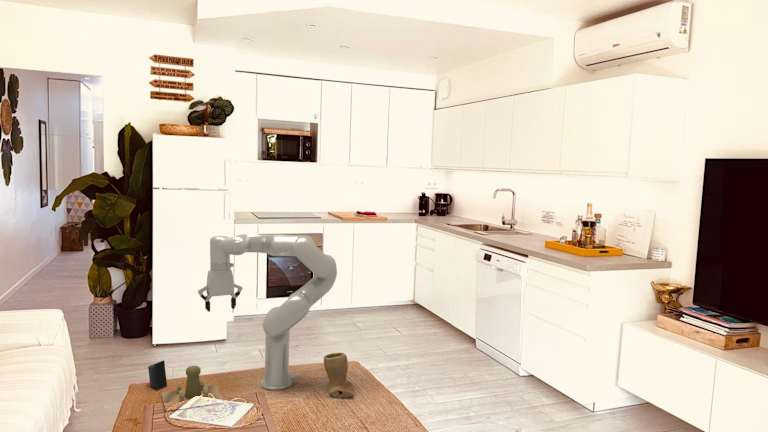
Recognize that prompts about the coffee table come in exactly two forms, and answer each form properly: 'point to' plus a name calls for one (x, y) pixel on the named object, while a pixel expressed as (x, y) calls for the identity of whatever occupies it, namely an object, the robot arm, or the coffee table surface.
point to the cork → (192, 382)
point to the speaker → (157, 375)
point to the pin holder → (180, 393)
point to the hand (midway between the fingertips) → (220, 309)
